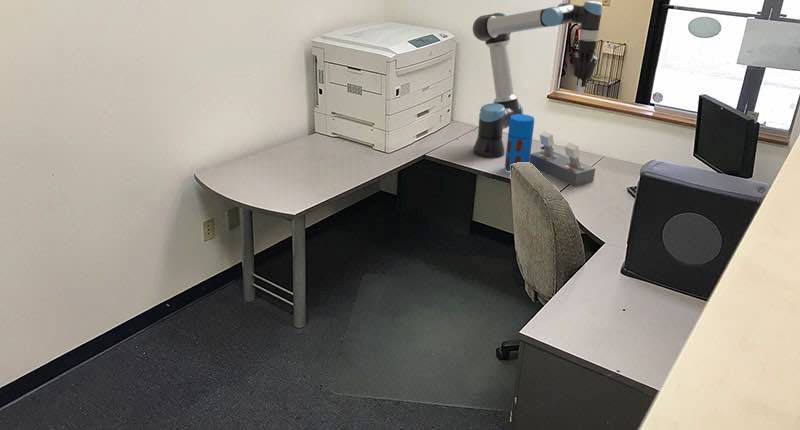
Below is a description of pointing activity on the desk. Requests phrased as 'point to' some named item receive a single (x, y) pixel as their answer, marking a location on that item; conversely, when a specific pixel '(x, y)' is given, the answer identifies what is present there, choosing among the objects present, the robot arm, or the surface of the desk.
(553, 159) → the switch box
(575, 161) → the outer lever
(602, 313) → the desk surface
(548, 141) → the inner lever
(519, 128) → the thermos
